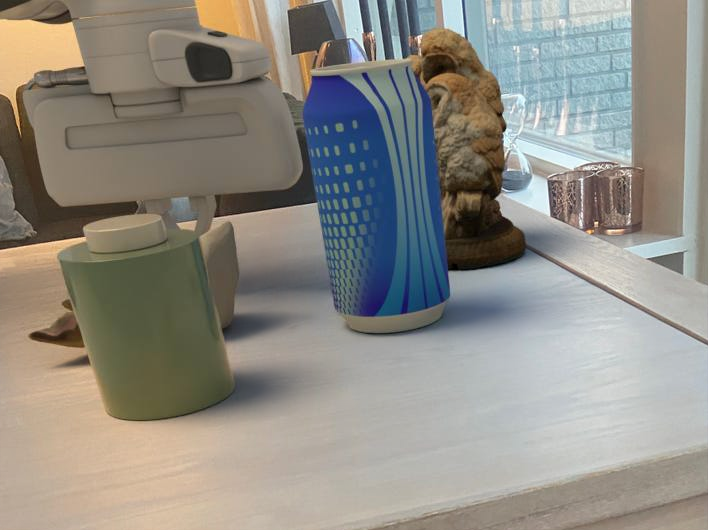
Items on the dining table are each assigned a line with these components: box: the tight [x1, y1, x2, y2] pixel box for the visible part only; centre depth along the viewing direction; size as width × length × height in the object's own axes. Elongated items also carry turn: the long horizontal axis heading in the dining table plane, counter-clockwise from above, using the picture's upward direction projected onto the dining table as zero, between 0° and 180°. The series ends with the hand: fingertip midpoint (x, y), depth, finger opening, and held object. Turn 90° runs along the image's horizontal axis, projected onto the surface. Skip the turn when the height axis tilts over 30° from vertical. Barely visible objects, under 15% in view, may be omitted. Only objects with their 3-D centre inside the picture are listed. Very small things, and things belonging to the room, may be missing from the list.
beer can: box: [302, 58, 451, 334], centre depth 65 cm, size 8×8×16 cm
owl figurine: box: [405, 27, 527, 270], centre depth 82 cm, size 18×12×17 cm, turn 28°
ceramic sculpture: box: [27, 214, 240, 349], centre depth 69 cm, size 11×9×15 cm
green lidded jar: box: [56, 213, 236, 421], centre depth 57 cm, size 8×8×10 cm
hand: (193, 256), depth 78 cm, fingers closed
